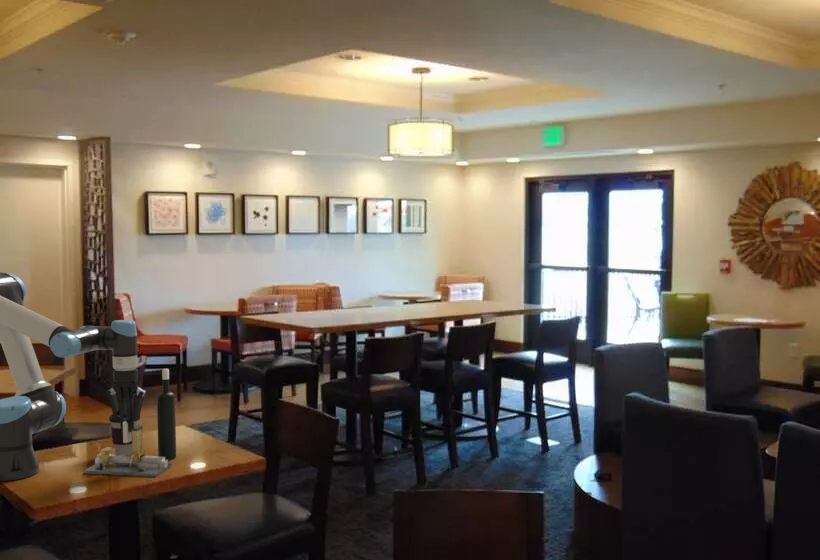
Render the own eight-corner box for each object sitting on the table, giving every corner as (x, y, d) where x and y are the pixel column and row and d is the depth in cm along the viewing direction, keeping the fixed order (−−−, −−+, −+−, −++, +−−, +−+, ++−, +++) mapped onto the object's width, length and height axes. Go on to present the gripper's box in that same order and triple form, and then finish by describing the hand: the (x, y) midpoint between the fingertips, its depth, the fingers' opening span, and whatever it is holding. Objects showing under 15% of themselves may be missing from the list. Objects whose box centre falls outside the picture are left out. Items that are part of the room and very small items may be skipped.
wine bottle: (164, 461, 265) (162, 371, 263) (154, 457, 269) (153, 369, 267) (179, 457, 269) (177, 368, 267) (169, 454, 273) (168, 366, 271)
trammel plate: (83, 473, 251) (83, 454, 251) (102, 463, 262) (101, 445, 262) (156, 477, 248) (155, 458, 247) (171, 466, 259) (171, 448, 258)
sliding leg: (124, 469, 251) (123, 431, 251) (136, 462, 259) (135, 425, 258) (133, 469, 251) (132, 431, 250) (145, 462, 258) (144, 425, 258)
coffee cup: (131, 458, 267) (129, 414, 266) (104, 457, 269) (103, 413, 268) (146, 450, 277) (145, 408, 276) (120, 449, 279) (119, 406, 278)
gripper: (100, 370, 252) (102, 444, 254) (138, 371, 250) (141, 445, 252) (112, 366, 260) (114, 438, 261) (150, 367, 258) (152, 439, 259)
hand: (127, 441), depth 257 cm, fingers closed
